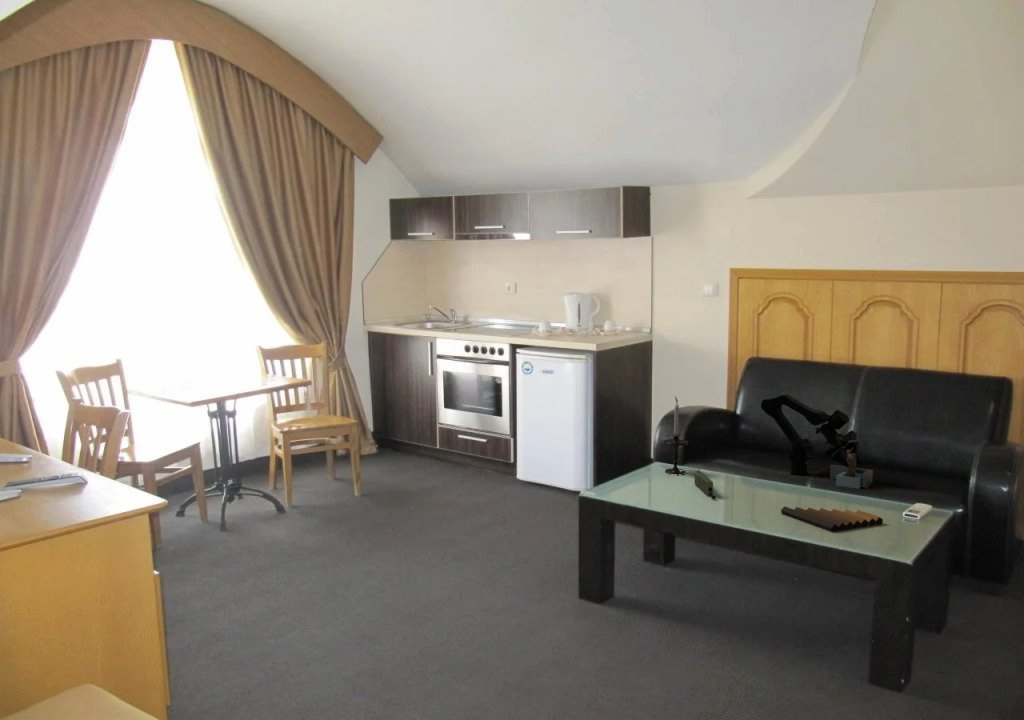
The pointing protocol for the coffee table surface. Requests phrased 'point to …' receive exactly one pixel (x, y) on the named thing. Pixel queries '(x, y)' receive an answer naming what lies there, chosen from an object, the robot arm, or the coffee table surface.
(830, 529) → the pan flute
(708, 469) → the coffee table surface
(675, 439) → the candlestick
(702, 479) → the handheld radio
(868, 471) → the corner stop
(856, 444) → the robot arm
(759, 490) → the coffee table surface
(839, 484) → the socket block
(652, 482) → the coffee table surface
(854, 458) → the dowel
